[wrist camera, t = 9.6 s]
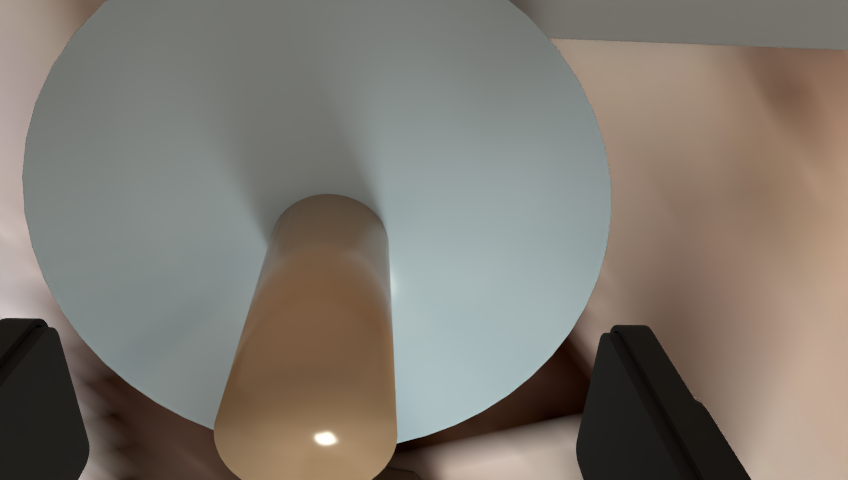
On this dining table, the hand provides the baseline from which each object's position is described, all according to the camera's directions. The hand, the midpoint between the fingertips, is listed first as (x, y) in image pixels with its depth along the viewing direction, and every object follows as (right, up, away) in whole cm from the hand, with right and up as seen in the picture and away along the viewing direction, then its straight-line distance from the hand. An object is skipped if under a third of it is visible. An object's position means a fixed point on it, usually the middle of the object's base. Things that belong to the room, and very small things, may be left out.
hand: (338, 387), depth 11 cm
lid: (-1, +3, +5) cm, 5 cm away
